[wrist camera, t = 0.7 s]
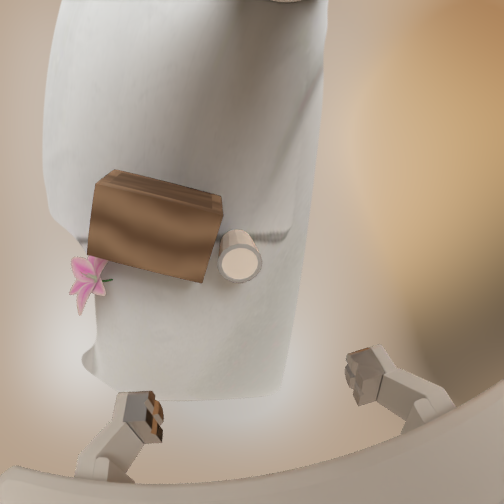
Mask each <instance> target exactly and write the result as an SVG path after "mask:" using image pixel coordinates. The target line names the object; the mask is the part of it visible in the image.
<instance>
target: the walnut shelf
mask: <svg viewBox="0 0 504 504" xmlns="http://www.w3.org/2000/svg"><path fill="white" fill-rule="evenodd" d="M222 218H223V209H222V201H221V196H218V195H215V194H211V193H207V192H204V191H200V190H196V189H192V188H188V187H185V186H181V185H177V184H173V183H169V182H165V181H161V180H157V179H153V178H149V177H145V176H141V175H137V174H133V173H128V172H124V171H120V170H115V169H114V170H113V171H112V172H110V173H109V174H107V175H106V176H105V177H104V178H102V179H101V180H100V181H98V182H97V183H96V184H95V190H94V197H93V204H92V211H91V219H90V228H89V237H88V248H87V255H90V256H94V257H97V258H101V259H105V260H109V261H112V262H116V263H120V264H124V265H128V266H132V267H136V268H140V269H144V270H148V271H152V272H156V273H160V274H164V275H168V276H173V277H177V278H181V279H185V280H190V281H194V282H198V283H202V282H203V279H204V275H205V272H206V269H207V266H208V262H209V259H210V256H211V253H212V249H213V246H214V243H215V240H216V237H217V233H218V230H219V227H220V224H221V221H222Z"/></svg>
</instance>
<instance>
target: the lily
mask: <svg viewBox="0 0 504 504" xmlns="http://www.w3.org/2000/svg"><path fill="white" fill-rule="evenodd" d="M108 261H109V260H105V259H101V258H97V257H94V256H90V255H88V258H87V259H85V258H82V257H73V258H72V260H71V266H72V271H73V274H74V276H75V278H76V281H75V282H74V284H73V285H72V287H71V289H70V292H69V295H74V294H77V308H78V313H79V315H81V314H82V311H83V309H84V306H85V304H86V301H87V299H88V297H89V296H90V294H91V292H92V293H93V294H96V295H101V296H105V295H106V292H105V288H104V285H103V282H107V281H112V280H113V279H109V280H101V277H100V274H101V272H102V270H103V269H104V267H105V266H106V264H107V263H108Z"/></svg>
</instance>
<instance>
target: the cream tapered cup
mask: <svg viewBox="0 0 504 504" xmlns="http://www.w3.org/2000/svg"><path fill="white" fill-rule="evenodd" d="M261 266H262V258H261V255H260V253H259V251H258V249H257V247H256V245H255V244H254V242H253V240H252V238H251V237H250V235H249V234H248V233H247V232H245V231H243V230H237V229H234V230H231V231H228V232H227V233H226V234H224V235H223V237H222V239H221V241H220V249H219V257H218V269H219V272H220V274H221V275H222V276H223V277H224V278H225V279H226V280H229V281H231V282H235V283H243V282H246V281H250V280H251V279H253V278H254V277H255V276H257V274H258V273H259V271H260V270H261Z"/></svg>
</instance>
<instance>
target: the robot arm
mask: <svg viewBox="0 0 504 504" xmlns="http://www.w3.org/2000/svg"><path fill="white" fill-rule="evenodd" d="M272 1H277V2H296V1H301V0H272ZM346 361H347V363H348V364H347V366H346V367H345V375H346V380H347V383H348V385H349V387H350V388H352V389H354V391H353V396H354V398H355V400H356V402H357V405H358V406H361V405H364V404H367V403H371V402H374V401H377V402H378V403H380V404H381V405H382V406H384V407H386V408H387V409H388V410H390V411H392V412H393V413H395V414H396V415H398V416H399V417H401V418H402V419H404V420H405V421H406V423H405V425H404V427H403V429H402V431H401V435H399V436H397V437H394V438H392V439H389V440H387V441H384V442H382V443H379V444H377V445H374V446H371V447H368V448H365V449H363V450H360V451H357V452H354V453H351V454H348V455H344V456H341V457H338V458H334V459H331V460H328V461H324V462H320V463H317V464H313V465H309V466H305V467H300V468H296V469H292V470H287V471H283V472H277V473H272V474H266V475H261V476H255V477H248V478H241V479H234V480H225V481H215V482H202V483H185V484H135V482H134V480H132V479H131V478H130V477H129V476H128V475H126V474H125V473H126V472H127V470H128V469H129V467H130V466H131V464H132V463H133V461H134V460H135V458H136V457H137V455H138V454H139V452H140V451H141V449H142V447H143V446H144V444H149V443H162V436H163V430H162V428H161V427H160V425H161V424H162V423H163V419H164V415H163V409H162V407H161V404H160V403H159V402H158V401H157V400H155V395H154V393H153V392H152V391H140V392H119V393H118V395H117V398H116V403H115V407H114V412H113V417H112V422H109V423H108V424H107V425H106V426H105V427H104V428H103V429H102V430H101V431H100V432H99V433H98V435H97V436H96V437H95V438H94V439H93V440H92V441H91V442H90V443H89V444H88V445H87V446H86V447H85V449H84V450H83V451H82V452H81V453H80V454H79V456H78V460H77V465H76V471H75V476H74V478H73V477H66V476H61V475H55V474H50V473H45V472H41V471H37V470H32V469H28V468H24V467H21V466H12V467H10V468H9V469H8V470H6V471H5V472H4V473H3V474H2V475H1V476H0V504H504V379H502V380H501V381H499V382H498V383H496V384H495V385H493V386H492V387H490V388H489V389H487V390H486V391H484V392H482V393H481V394H479V395H478V396H476V397H474V398H473V399H471V400H469V401H467V402H466V403H464V404H462V405H460V406H459V407H457V408H456V406H455V405H454V403H453V402H452V400H451V399H450V397H449V396H448V394H447V393H446V392H445V390H444V388H442V387H440V386H438V385H436V384H433V383H431V382H429V381H427V380H425V379H422V378H420V377H418V376H416V375H414V374H412V373H410V372H407V371H405V370H403V369H397V368H396V366H395V364H394V363H393V361H392V360H391V358H390V357H389V356H388V354H387V352H386V351H385V349H384V348H383V346H382V345H381V344H378V345H375V346H372V347H369V348H365V349H362V350H358V351H355V352H352V353H349V354H347V356H346Z"/></svg>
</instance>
